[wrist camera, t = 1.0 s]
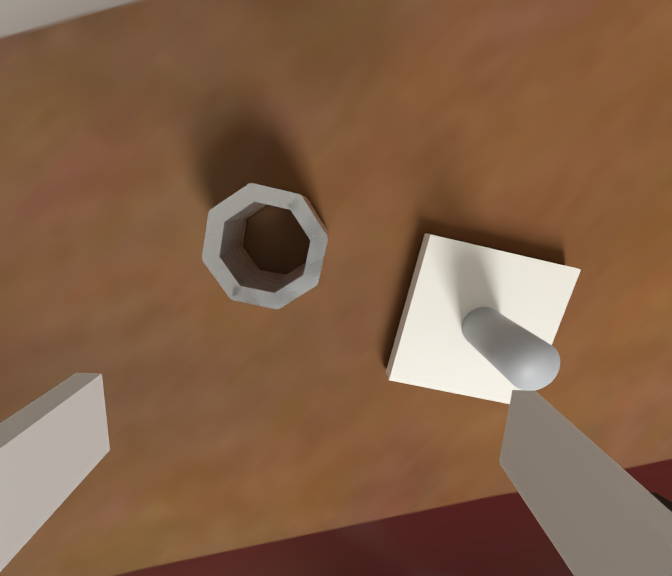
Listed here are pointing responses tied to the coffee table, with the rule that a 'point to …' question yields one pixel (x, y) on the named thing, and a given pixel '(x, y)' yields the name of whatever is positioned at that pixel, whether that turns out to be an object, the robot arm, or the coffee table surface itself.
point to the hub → (236, 264)
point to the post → (480, 321)
